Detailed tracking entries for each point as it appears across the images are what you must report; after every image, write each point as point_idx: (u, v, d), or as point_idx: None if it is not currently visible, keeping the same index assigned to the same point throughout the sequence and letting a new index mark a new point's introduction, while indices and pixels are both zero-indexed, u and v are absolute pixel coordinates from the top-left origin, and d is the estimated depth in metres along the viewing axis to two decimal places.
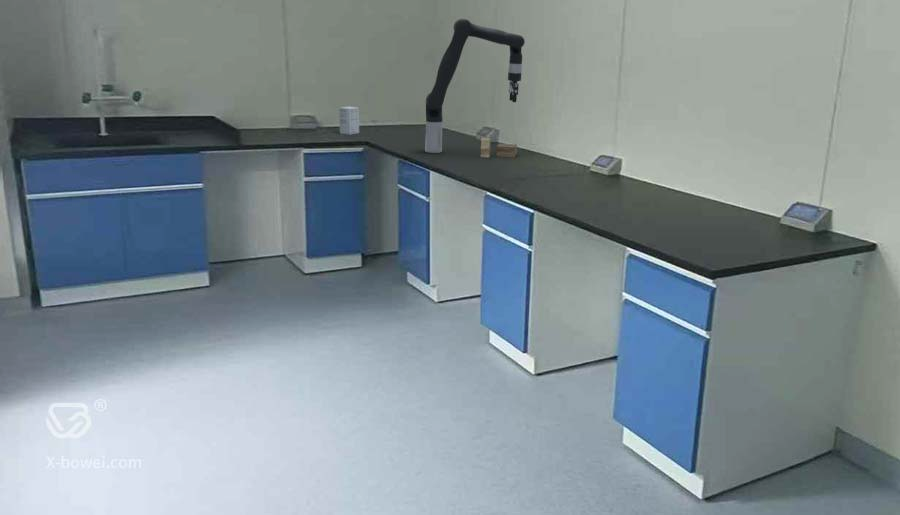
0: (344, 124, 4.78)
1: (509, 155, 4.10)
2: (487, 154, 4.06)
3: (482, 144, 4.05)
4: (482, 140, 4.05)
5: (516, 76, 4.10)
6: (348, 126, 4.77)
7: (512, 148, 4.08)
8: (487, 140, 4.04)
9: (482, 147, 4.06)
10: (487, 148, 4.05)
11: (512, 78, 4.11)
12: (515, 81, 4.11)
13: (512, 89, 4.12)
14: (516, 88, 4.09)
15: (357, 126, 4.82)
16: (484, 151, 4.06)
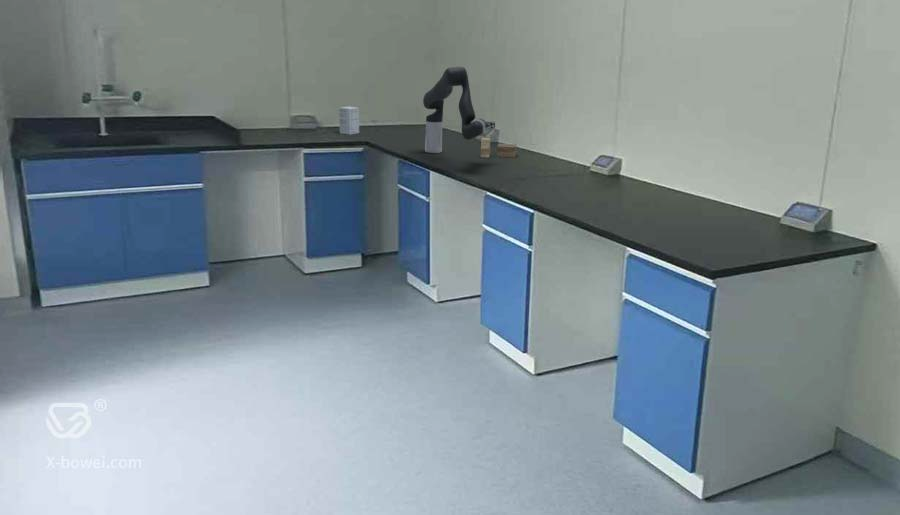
0: (344, 124, 4.78)
1: (510, 155, 4.10)
2: (487, 154, 4.06)
3: (482, 144, 4.05)
4: (482, 140, 4.05)
5: None
6: (348, 126, 4.77)
7: (513, 148, 4.08)
8: (487, 140, 4.04)
9: (482, 147, 4.06)
10: (487, 148, 4.05)
11: None
12: None
13: None
14: None
15: (357, 126, 4.82)
16: (484, 151, 4.06)
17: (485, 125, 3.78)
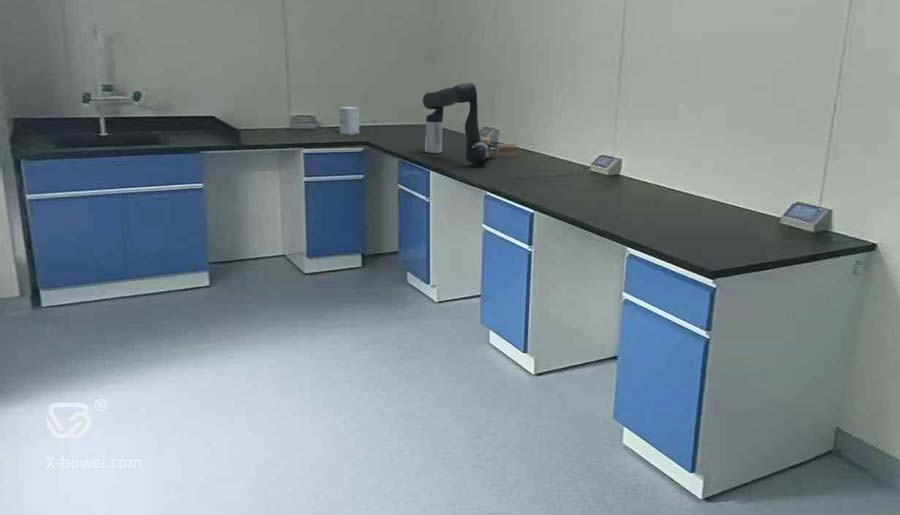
0: (344, 124, 4.78)
1: (511, 155, 4.10)
2: (487, 154, 4.06)
3: None
4: (482, 140, 4.05)
5: None
6: (348, 126, 4.77)
7: (514, 148, 4.09)
8: (487, 140, 4.04)
9: None
10: None
11: None
12: None
13: None
14: None
15: (357, 126, 4.82)
16: None
17: (488, 148, 3.94)
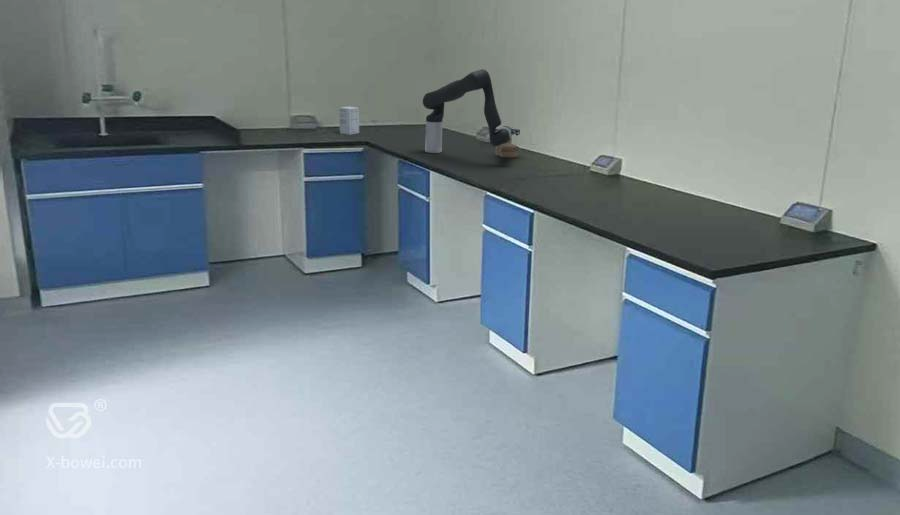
0: (344, 124, 4.78)
1: (513, 155, 4.11)
2: (509, 143, 4.10)
3: None
4: None
5: None
6: (348, 126, 4.77)
7: (516, 148, 4.10)
8: None
9: None
10: None
11: None
12: None
13: None
14: None
15: (357, 126, 4.82)
16: None
17: (511, 132, 3.97)
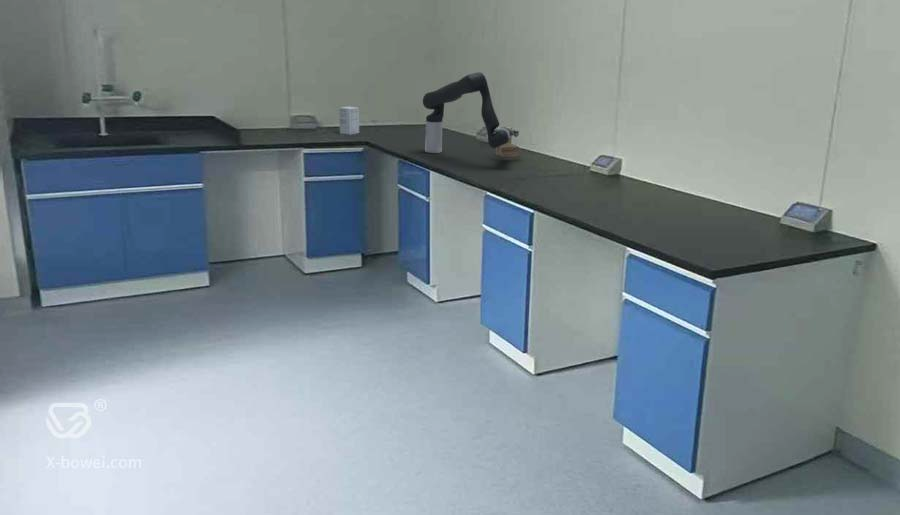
0: (344, 124, 4.78)
1: (513, 155, 4.11)
2: (509, 143, 4.10)
3: None
4: None
5: None
6: (348, 126, 4.77)
7: (516, 148, 4.10)
8: (509, 129, 4.08)
9: None
10: None
11: None
12: None
13: (498, 130, 4.00)
14: None
15: (357, 126, 4.82)
16: None
17: (509, 133, 3.90)
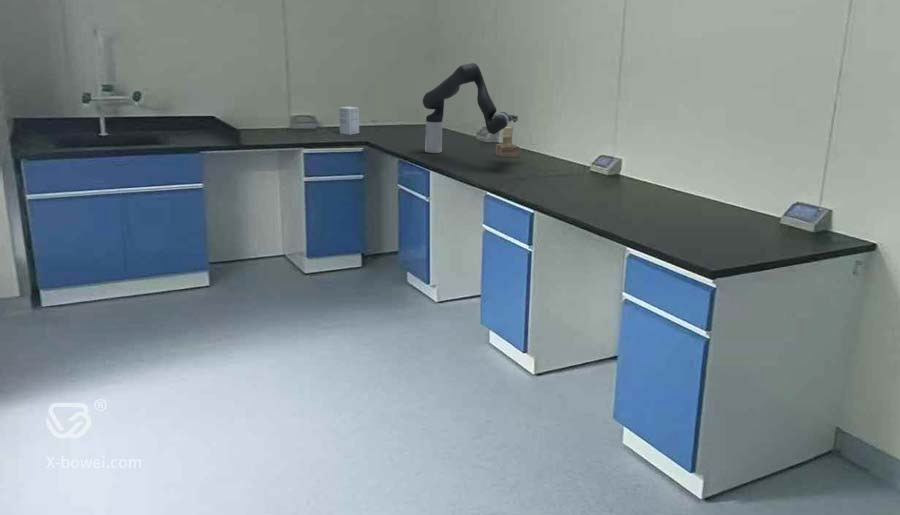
0: (344, 124, 4.78)
1: (513, 155, 4.11)
2: (509, 143, 4.10)
3: (504, 133, 4.09)
4: (504, 129, 4.09)
5: None
6: (348, 126, 4.77)
7: (516, 148, 4.10)
8: (509, 129, 4.08)
9: (504, 136, 4.10)
10: (509, 137, 4.09)
11: None
12: None
13: None
14: None
15: (357, 126, 4.82)
16: (506, 140, 4.10)
17: (508, 119, 3.82)
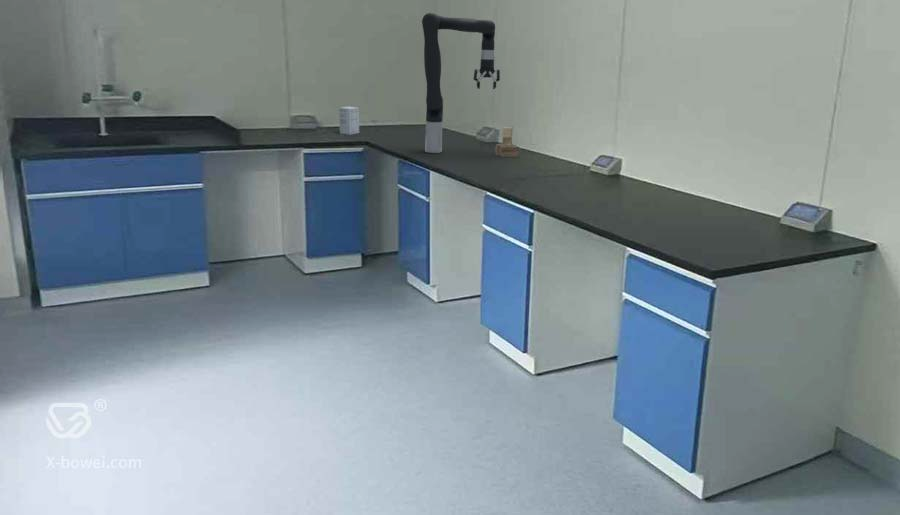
0: (344, 124, 4.78)
1: (513, 155, 4.11)
2: (509, 142, 4.10)
3: (504, 133, 4.10)
4: (504, 129, 4.09)
5: (480, 62, 4.03)
6: (348, 126, 4.77)
7: (516, 148, 4.10)
8: (509, 128, 4.08)
9: (504, 136, 4.10)
10: (509, 136, 4.10)
11: None
12: (480, 67, 4.04)
13: None
14: (474, 74, 4.05)
15: (357, 126, 4.82)
16: (506, 140, 4.10)
17: None
